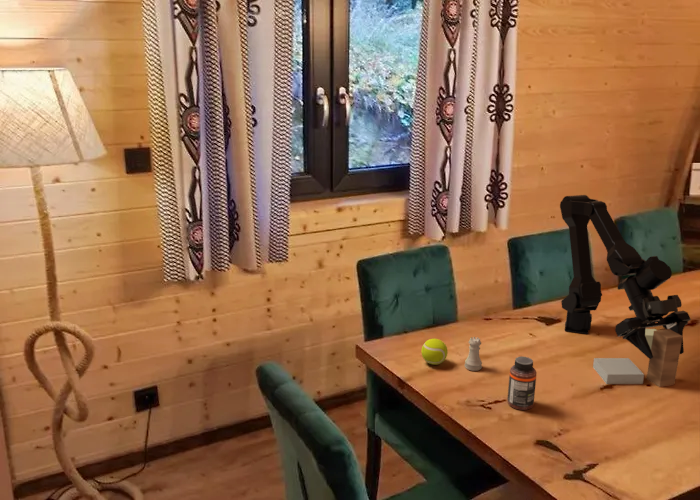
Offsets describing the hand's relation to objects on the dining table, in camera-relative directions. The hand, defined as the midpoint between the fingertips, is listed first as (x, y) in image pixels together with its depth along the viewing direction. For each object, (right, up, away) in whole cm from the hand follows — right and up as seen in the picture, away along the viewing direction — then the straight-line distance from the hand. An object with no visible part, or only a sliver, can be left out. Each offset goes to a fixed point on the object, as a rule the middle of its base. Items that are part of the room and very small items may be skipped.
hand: (666, 355), depth 166 cm
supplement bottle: (-38, -10, -9) cm, 40 cm away
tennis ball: (-55, -4, +11) cm, 57 cm away
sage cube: (+5, -1, +22) cm, 23 cm away
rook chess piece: (-46, -5, +9) cm, 47 cm away
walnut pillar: (0, -7, +3) cm, 7 cm away
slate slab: (-10, -6, +6) cm, 13 cm away
